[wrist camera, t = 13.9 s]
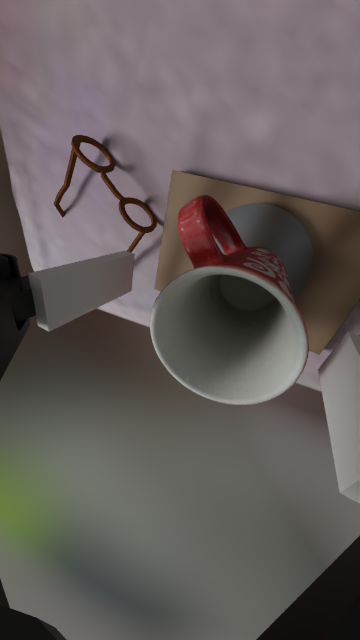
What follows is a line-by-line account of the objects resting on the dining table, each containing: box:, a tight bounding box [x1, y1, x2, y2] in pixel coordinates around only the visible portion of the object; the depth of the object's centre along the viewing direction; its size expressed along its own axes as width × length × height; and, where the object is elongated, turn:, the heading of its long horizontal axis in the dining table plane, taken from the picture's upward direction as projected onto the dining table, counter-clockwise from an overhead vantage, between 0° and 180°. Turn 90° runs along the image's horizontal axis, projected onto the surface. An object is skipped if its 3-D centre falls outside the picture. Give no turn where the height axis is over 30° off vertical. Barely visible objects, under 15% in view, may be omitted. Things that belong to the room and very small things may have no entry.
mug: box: [150, 195, 309, 405], centre depth 17 cm, size 13×9×14 cm
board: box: [154, 170, 360, 354], centre depth 24 cm, size 22×14×2 cm, turn 76°
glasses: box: [54, 135, 157, 253], centre depth 29 cm, size 13×13×5 cm
